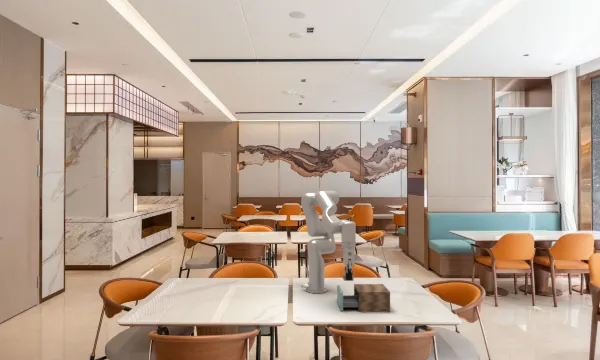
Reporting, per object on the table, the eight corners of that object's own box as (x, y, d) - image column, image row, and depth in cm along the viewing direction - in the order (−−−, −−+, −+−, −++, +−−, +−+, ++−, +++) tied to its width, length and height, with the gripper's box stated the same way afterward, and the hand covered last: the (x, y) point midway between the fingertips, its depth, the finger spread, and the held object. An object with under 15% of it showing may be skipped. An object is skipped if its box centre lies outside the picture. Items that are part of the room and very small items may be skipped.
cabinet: (359, 311, 207) (359, 292, 207) (353, 302, 223) (354, 284, 223) (390, 311, 208) (390, 292, 208) (382, 302, 224) (382, 284, 224)
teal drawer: (340, 310, 207) (340, 292, 207) (337, 301, 223) (337, 285, 223) (371, 310, 208) (371, 292, 208) (365, 301, 223) (365, 285, 223)
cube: (344, 280, 213) (344, 271, 213) (342, 278, 218) (342, 269, 218) (353, 280, 213) (353, 271, 213) (352, 278, 218) (352, 269, 218)
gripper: (358, 247, 207) (358, 283, 207) (352, 242, 224) (352, 275, 224) (343, 247, 207) (343, 283, 207) (339, 242, 224) (339, 275, 224)
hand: (348, 278), depth 215 cm, fingers closed on cube, 4 cm apart
